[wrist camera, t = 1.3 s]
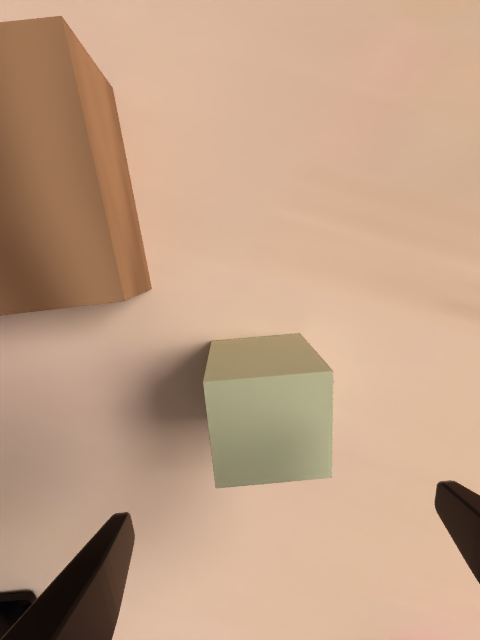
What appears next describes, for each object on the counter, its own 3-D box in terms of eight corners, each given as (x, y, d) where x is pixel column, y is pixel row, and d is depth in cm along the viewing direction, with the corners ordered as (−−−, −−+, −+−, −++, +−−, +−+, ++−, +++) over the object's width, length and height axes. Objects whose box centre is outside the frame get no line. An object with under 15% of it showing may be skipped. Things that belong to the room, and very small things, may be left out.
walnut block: (-14, 307, 14) (-106, 327, 10) (-83, 113, 12) (-232, 46, 8) (153, 288, 14) (124, 300, 10) (115, 92, 12) (61, 15, 8)
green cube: (219, 417, 16) (215, 488, 11) (211, 340, 15) (202, 381, 10) (301, 410, 16) (331, 477, 11) (299, 332, 15) (333, 370, 10)
